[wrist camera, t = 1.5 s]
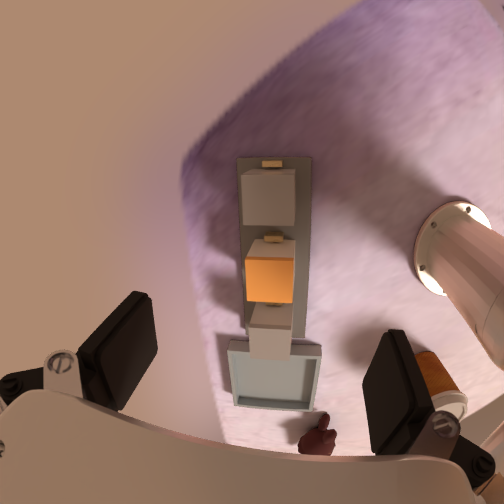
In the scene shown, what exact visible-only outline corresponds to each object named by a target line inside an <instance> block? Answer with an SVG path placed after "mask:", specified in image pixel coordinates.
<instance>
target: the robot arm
mask: <svg viewBox="0 0 504 504" xmlns="http://www.w3.org/2000/svg"><path fill="white" fill-rule="evenodd" d="M431 223H432V224H431ZM414 266H415V270H416V273H417V275H418V277H419V279H420V281H421V282H422V283H423V285H424V286H425V287H426V288H427V289H428V290H429V291H431V292H433V293H435V294H438V295H441V296H448V298H449V299H450V300H451V302H452V303H453V304H454V306H455V307H456V308H457V310H458V311H459V312H460V314H461V315H462V317H463V318H464V319H465V321H466V322H467V324H468V325H469V327H470V328H471V330H472V331H473V333H474V334H475V336H476V337H477V339H478V340H479V342H480V343H481V345H482V346H483V348H484V349H485V351H486V353H487V354H488V356H489V357H490V359H491V360H492V362H493V363H494V364H495V365H496V366H497V367H498V368H500V369H501V370H503V371H504V237H503V236H502V235H500V234H498V233H497V232H495V231H494V230H492V229H491V226H490V223H489V220H488V218H487V217H486V215H485V214H484V213H483V212H482V210H481V209H479V208H478V207H476V206H475V205H473V204H471V203H468V202H464V201H453V202H449V203H446V204H444V205H442V206H441V207H439V208H437V209H436V210H435V211H434V212H433V213H431V215H430V216H429V217H428V218H427V219H426V221H425V222H424V224H423V225H422V227H421V229H420V231H419V234H418V236H417V238H416V243H415V247H414ZM157 350H158V346H157V339H156V332H155V324H154V317H153V308H152V300H151V298H149V297H148V295H147V294H146V293H143V292H138V291H133V292H132V293H131V294H130V295H129V296H128V297H127V298H126V299H125V300H124V301H123V302H122V303H121V304H120V305H119V306H118V307H117V308H116V309H115V310H114V311H113V312H112V313H111V314H110V315H109V316H108V317H107V318H106V319H105V320H104V321H103V323H102V324H101V325H100V326H99V327H98V328H97V329H96V330H95V331H94V332H93V333H92V334H91V335H90V336H89V338H88V339H87V340H86V341H85V342H84V343H83V344H82V345H81V346H80V347H79V349H78V351H77V353H76V354H75V353H73V352H71V351H69V350H58V351H55V352H53V353H51V354H50V355H49V356H48V357H47V358H46V360H45V361H44V367H41V368H37V369H31V370H26V371H20V372H15V373H10V374H7V375H6V376H4V377H3V378H2V379H1V380H0V504H504V421H503V422H502V423H501V424H500V426H498V428H497V429H496V430H495V431H494V432H493V433H492V434H491V435H490V436H489V437H488V438H487V439H486V440H485V441H484V442H483V443H482V444H481V445H480V446H477V445H475V444H474V443H472V442H470V441H469V440H467V439H465V438H464V437H462V436H461V435H460V431H461V426H460V422H459V420H458V419H457V417H456V416H455V415H453V414H452V413H451V412H448V411H444V410H439V411H435V408H434V405H433V402H432V399H431V396H430V394H429V391H428V388H427V385H426V383H425V380H424V377H423V375H422V372H421V370H420V367H419V365H418V363H417V361H416V358H415V356H414V353H413V351H412V349H411V346H410V344H409V342H408V339H407V337H406V335H405V332H404V331H403V330H396V329H389V330H388V332H385V333H384V334H383V336H382V338H381V341H380V343H379V346H378V348H377V350H376V353H375V355H374V357H373V359H372V362H371V364H370V366H369V368H368V370H367V373H366V375H365V377H364V379H363V383H362V388H363V394H364V400H365V406H366V413H367V420H368V427H369V435H370V443H371V450H372V452H373V453H375V455H376V456H324V455H306V454H293V453H283V452H274V451H267V450H259V449H253V448H246V447H241V446H235V445H230V444H225V443H220V442H215V441H211V440H206V439H202V438H198V437H194V436H190V435H186V434H182V433H179V432H175V431H172V430H168V429H165V428H162V427H159V426H156V425H152V424H149V423H146V422H144V421H141V420H138V419H135V418H132V417H129V416H126V415H124V414H121V413H118V410H122V409H123V408H124V406H125V405H126V403H127V401H128V400H129V398H130V397H131V395H132V393H133V391H134V390H135V388H136V386H137V385H138V383H139V382H140V380H141V378H142V377H143V375H144V374H145V372H146V370H147V369H148V367H149V365H150V364H151V362H152V361H153V359H154V357H155V356H156V354H157Z"/></svg>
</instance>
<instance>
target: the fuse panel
mask: <svg viewBox="0 0 504 504" xmlns="http://www.w3.org/2000/svg"><path fill="white" fill-rule="evenodd" d="M236 160H237V182H238V203H239V223H240V242H241V261H242V279H243V296H244V313H245V330H246V335H249V328H248V327H249V324H250V321H251V318H252V314H253V311H254V308H255V304H256V301H247V291H246V271H245V258H246V256H247V254H248V252H249V250H250V248H251V246H252V244H253V242H254V240H255V239H264V241H267V242H283V240H295V276H294V289H293V301H294V304H293V327H292V338H305V326H306V313H307V298H308V281H309V261H310V235H311V157H249V158H236ZM251 169H295V180H296V211H295V221H294V226H269V225H243V209H242V187H241V175H242V174H244V173H245V172H247V171H249V170H251ZM282 304H283V303H275V302H266V305H282Z"/></svg>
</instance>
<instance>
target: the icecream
mask: <svg viewBox="0 0 504 504" xmlns="http://www.w3.org/2000/svg"><path fill="white" fill-rule="evenodd" d="M329 421H330V416H329V414H325V415H323V416H322V417H321V419H320V420H319V424H318V428H314V429H312V430H310V431H309V432H308V433H306V434H305V435H304V436H302V437H301V438H300V441H299V443H298V447H299V448H298V452H299V453H301V454H306V455H324V456H330V455H331V454H332V451H333V449H334V447H335V446H336V445H335V438H336V436H337V432H336V431H335V430H334V429H330V430H327V427H328V425H329Z"/></svg>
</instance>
